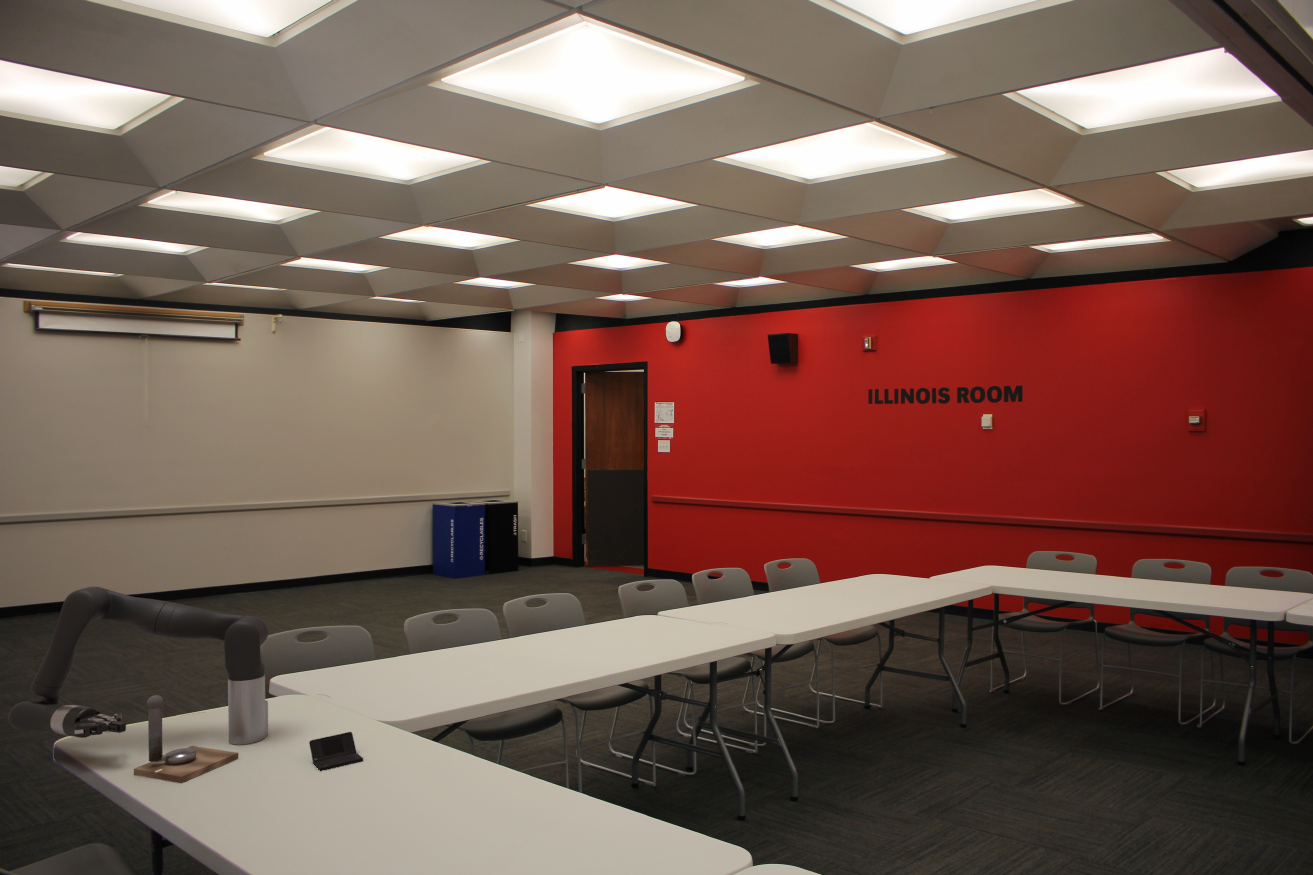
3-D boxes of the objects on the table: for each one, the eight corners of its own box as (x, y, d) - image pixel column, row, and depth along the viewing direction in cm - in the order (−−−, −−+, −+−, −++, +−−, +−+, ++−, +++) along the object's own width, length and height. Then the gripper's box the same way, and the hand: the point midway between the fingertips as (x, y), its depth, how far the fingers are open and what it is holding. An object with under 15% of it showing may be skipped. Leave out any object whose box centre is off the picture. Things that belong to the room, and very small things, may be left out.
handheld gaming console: (324, 766, 214) (317, 728, 219) (311, 779, 217) (305, 741, 222) (367, 760, 222) (359, 724, 227) (354, 773, 225) (347, 736, 230)
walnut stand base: (192, 751, 230) (192, 744, 230) (238, 758, 224) (238, 751, 224) (133, 774, 214) (133, 767, 214) (181, 782, 209) (181, 775, 209)
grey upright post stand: (194, 751, 224) (193, 686, 224) (198, 759, 218) (197, 692, 218) (146, 760, 218) (145, 693, 218) (148, 769, 212) (147, 699, 212)
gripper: (49, 714, 219) (98, 721, 213) (99, 699, 231) (146, 705, 225) (50, 743, 219) (98, 751, 213) (100, 727, 231) (147, 734, 225)
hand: (123, 727), depth 219 cm, fingers closed
